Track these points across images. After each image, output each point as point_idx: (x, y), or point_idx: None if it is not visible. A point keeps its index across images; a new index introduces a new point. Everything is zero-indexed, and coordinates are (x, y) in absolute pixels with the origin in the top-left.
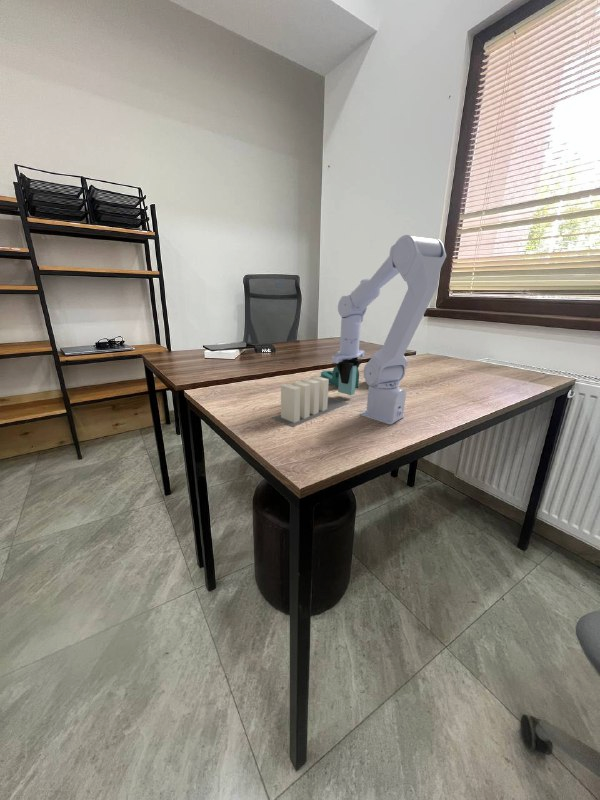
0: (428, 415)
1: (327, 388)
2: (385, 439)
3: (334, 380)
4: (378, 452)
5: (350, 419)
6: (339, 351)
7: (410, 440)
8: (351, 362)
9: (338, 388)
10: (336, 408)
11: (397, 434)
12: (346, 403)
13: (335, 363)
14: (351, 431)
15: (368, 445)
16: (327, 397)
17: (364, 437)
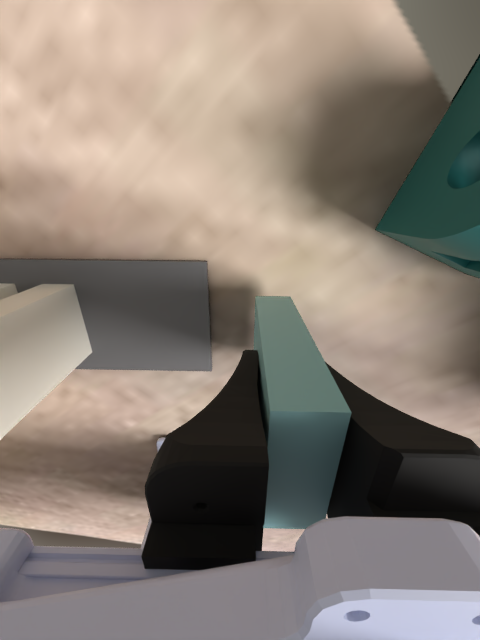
0: None
1: (11, 422)
2: (101, 516)
3: (468, 116)
4: (46, 525)
5: (111, 433)
6: (453, 611)
7: (142, 539)
8: (349, 515)
9: (256, 304)
10: (130, 369)
11: (143, 521)
12: (203, 366)
13: (166, 438)
14: (59, 465)
15: (48, 508)
16: (55, 385)
17: (66, 492)
